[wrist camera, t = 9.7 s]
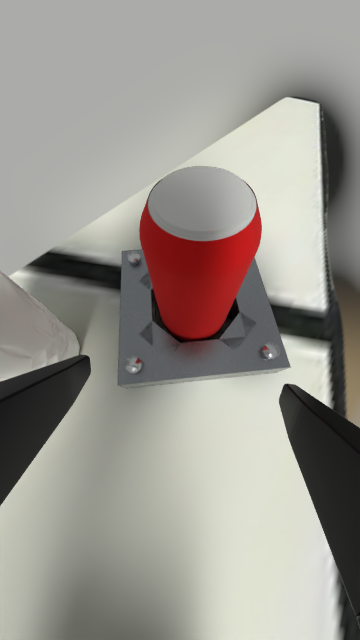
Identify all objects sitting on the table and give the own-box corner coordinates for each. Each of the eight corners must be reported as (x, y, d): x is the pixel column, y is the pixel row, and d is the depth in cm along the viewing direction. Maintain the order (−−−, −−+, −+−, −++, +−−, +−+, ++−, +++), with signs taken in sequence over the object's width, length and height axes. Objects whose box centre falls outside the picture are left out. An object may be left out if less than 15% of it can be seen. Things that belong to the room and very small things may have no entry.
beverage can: (166, 350, 18) (136, 262, 7) (158, 294, 20) (126, 163, 9) (230, 339, 18) (301, 237, 7) (215, 285, 21) (248, 147, 10)
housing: (276, 372, 17) (294, 365, 14) (126, 388, 17) (115, 384, 14) (242, 256, 22) (250, 235, 19) (128, 267, 22) (120, 246, 19)
